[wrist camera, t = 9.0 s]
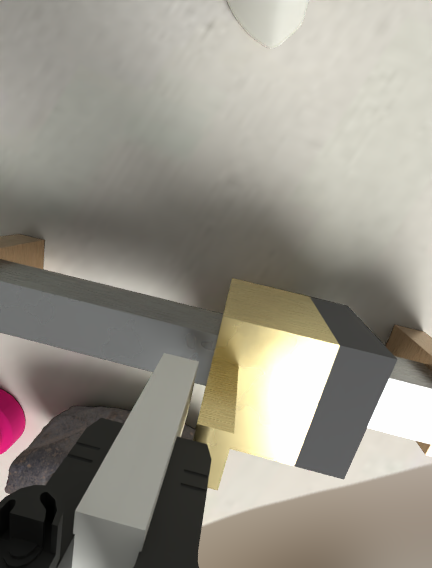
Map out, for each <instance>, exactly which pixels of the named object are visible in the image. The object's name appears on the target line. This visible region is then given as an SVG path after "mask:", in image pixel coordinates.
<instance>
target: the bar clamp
mask: <svg viewBox="0 0 432 568" xmlns="http://www.w3.org/2000/svg"><path fill="white" fill-rule="evenodd" d="M44 242H45V240H43V239H38V238H34V237H30V236H26V235H22V234H15V235H8V236H0V333H4V334H8V335H12V336H16V337H20V338H23V339H27V340H31V341H35V342H39V343H43V344H47V345H50V346H54V347H58V348H62V349H66V350H70V351H73V352H77V353H81V354H85V355H89V356H93V357H97V358H100V359H104V360H108V361H112V362H116V363H120V364H124V365H127V366H131V367H135V368H139V369H143V370H147V371H151V372H154V370H155V368H156V366H157V365H158V363H159V361H160V359H161V358H162V356H163V354H164V353H166V354H170V355H174V356H179V357H183V358H187V359H191V360H195V361H199V363H198V368H197V373H196V377H195V382H194V383H197V384H201V385H204V386H206V384H207V380H208V376H209V372H210V368H211V363H212V359H213V355H214V351H215V347H216V343H217V339H218V334H219V330H220V326H221V322H222V318H223V314H222V313H218V312H214V311H210V310H206V309H202V308H198V307H194V306H190V305H186V304H182V303H177V302H173V301H169V300H165V299H161V298H157V297H153V296H149V295H145V294H141V293H137V292H133V291H129V290H125V289H121V288H117V287H113V286H109V285H105V284H100V283H96V282H92V281H88V280H84V279H80V278H76V277H72V276H68V275H64V274H60V273H56V272H52V271H48V270H44V269H43V263H44ZM385 347H386V348H387V349H388V350H389V351H390V352H391V353H392V354H393V355H394V356H395V357H396V358H397V359H398V360H397V362H396V364H395V366H394V369H393V371H392V373H391V375H390V378H389V380H388V382H387V384H386V387H385V389H384V391H383V393H382V395H381V398H380V400H379V402H378V404H377V407H376V409H375V411H374V413H373V416H372V418H371V420H370V422H369V424H368V427H367V428H370V429H374V430H378V431H382V432H386V433H389V434H393V435H397V436H401V437H405V438H409V439H413V440H416V442H417V443H418V445H419V446H420V448H421V449H422V451H423V452H424V453H425V455H428V456H431V457H432V337H430V336H429V335H427V334H426V333H425V332H423V331H419V330H415V329H411V328H407V327H403V326H399V325H394V328H393V330H392V332H391V335H390V337H389V339H388V342H387V344H386V346H385Z"/></svg>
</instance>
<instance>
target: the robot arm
mask: <svg viewBox="0 0 432 568" xmlns="http://www.w3.org/2000/svg"><path fill="white" fill-rule="evenodd" d="M198 363H199V361H195V360H191V359H187V358H183V357H179V356H174V355H170V354H166V353H164V354H163V356H162V358H161V359H160V361H159V363H158V365H157V366H156V368H155V370H154V372H153V374H152V375H151V377H150V379H149V381H148V382H147V384H146V386H145V388H144V390H143V391H142V393H141V395H140V397H139V398H138V400H137V402H136V404H135V405H134V407H133V409H132V411H131V413H130V414H129V416H128V418H127V420H126V421H125V423H120V422H116V421H112V420H108V419H105V418H100V419H99V420H97V421H96V422H94V423H93V424H91V425H90V426H88V427H87V428H86V429H85V431H84V432H83V434H82V435H81V436H80V438H79V439H78V440H77V442H76V444H75V445H74V446H73V447H72V449H71V450H70V452H69V453H68V455H67V457H65V459H64V460H63V461H62V463H61V464H60V466H59V467H58V468H57V470H56V471H55V472H54V474H53V475H52V477H51V478H50V479H49V481H48V482H47V484H46V485H32V486H28V487H24V488H20V489H19V490H17V491H15V492H13V493H11V494H10V495H8V496H6V497H5V498H4V499H3V500H2V501H1V502H0V568H199V566H198V547H199V540H200V534H201V527H202V520H203V514H204V507H205V500H206V492H207V487H208V480H209V473H210V466H211V460H212V459H211V456H210V452H209V449H208V445H207V444H205V443H201V442H197V441H193V440H189V439H186V438H182V437H181V435H182V431H183V428H184V424H185V421H186V418H187V414H188V409H189V405H190V400H191V396H192V391H193V386H194V382H195V377H196V373H197V368H198Z"/></svg>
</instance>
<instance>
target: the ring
mask: <svg viewBox="0 0 432 568" xmlns="http://www.w3.org/2000/svg"><path fill="white" fill-rule="evenodd" d="M310 298H311V300H312V301H313V303H314V305H315V306H316V308H317V309H318V311H319V313H320V314H321V316H322V317H323V319H324V321H325V322H326V324H327V325H328V327H329V329H330V330H331V332H332V334H333V335H334V337H335V338H336V340H337V342H338V343H339V345H340V346H339V349H338V351H337V354H336V357H335V359H334V362H333V365H332V367H331V370H330V373H329V375H328V378H327V380H326V383H325V386H324V389H323V391H322V394H321V396H320V399H319V402H318V404H317V407H316V410H315V412H314V415H313V418H312V420H311V423H310V425H309V428H308V431H307V434H306V436H305V439H304V441H303V444H302V447H301V449H300V452H299V455H298V457H297V460H296V463H295V465H294V466H296V467H300V468H303V469H307V470H311V471H315V472H318V473H322V474H326V475H329V476H333V477H337V478H341V479H344V478H345V476H346V474H347V471H348V469H349V467H350V465H351V462H352V460H353V458H354V456H355V453H356V451H357V449H358V447H359V445H360V442H361V440H362V438H363V436H364V433H365V431H366V429H367V427H368V424H369V422H370V420H371V418H372V416H373V413H374V411H375V409H376V407H377V404H378V402H379V400H380V398H381V395H382V393H383V391H384V389H385V387H386V384H387V382H388V380H389V378H390V375H391V373H392V371H393V369H394V366H395V364H396V362H397V360H398V359H397V358H396V357H395V356H394V355H393V354H392V353H391V352H390V351H389V350H388V349H387V348H386V347H385V346H384V344H383V343H382V342H381V341H380V340H379V339H378V338H377V337H376V336H375V335H374V334H373V333H372V332H371V331H370V329H369V328H368V327H367V326H366V325H365V324H364V323H363V322H362V321H361V320H360V319H359V318H358V317H357V316H356V314H355V313H354V312H353V311H352V310H351V309H350V308H349V307H348V306H346V305H342V304H338V303H334V302H330V301H326V300H321V299H317V298H313V297H310Z"/></svg>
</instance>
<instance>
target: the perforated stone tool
mask: <svg viewBox="0 0 432 568" xmlns="http://www.w3.org/2000/svg"><path fill="white" fill-rule="evenodd" d="M130 413H131V411H129V410H122V409H119V408H106V407H101V406H98V407H84V406H72V407H71V408H70V409H69V410H67V411H64V412H63V413H61V414H60V415H58V416H56V417H54V418H53V419H51V421H50V422H49V423H48V424H47V425H46V426H45V427H44V428H43V429H42V431H41V433H40V434H39V435H38V436H37V437H36V438H35V439H34V441H33V442H32V443H31V444H30V445H29V447H28V448H27V449H26V450H24V451H23V452H22V453H21V454H20V455H19V456H18V457H17V458H16V459H15V460H14V461H13V463H12V464H11V466H10V468H9V476H8V480H7V483H6V484H7V485H6V487H5V492H6V493H8V494H11V493H13V492H15V491H17V490H19V489H20V488H24V487H28V486H32V485H46V484H47V482H48V481H49V479H50V478H51V477H52V475H53V474H54V472H55V471H56V470H57V468H58V467H59V466H60V464H61V463H62V461H63V460H64V459H65V457H67V455H68V453H69V452H70V450H71V449H72V447H73V446H74V445H75V444H76V442H77V440H78V439H79V438H80V436H81V435H82V434H83V432H84V431H85V429H86V428H87V427H88V426H90V425H91V424H93V423H94V422H96V421H97V420H99V419H100V418H105V419H108V420H112V421H116V422H120V423H125V421H126V420H127V418H128V416H129V414H130ZM194 434H195V429H193V428H191V427H189V426H187V425H184V428H183V431H182V435H181V437H182V438H186V439H189V440H193V438H194Z"/></svg>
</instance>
